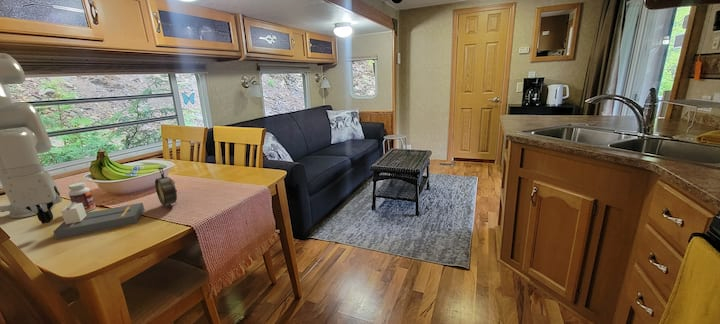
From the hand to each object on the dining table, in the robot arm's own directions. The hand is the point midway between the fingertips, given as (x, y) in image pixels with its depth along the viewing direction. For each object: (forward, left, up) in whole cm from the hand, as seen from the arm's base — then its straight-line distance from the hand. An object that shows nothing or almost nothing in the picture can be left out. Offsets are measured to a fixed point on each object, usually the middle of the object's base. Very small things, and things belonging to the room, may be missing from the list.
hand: (47, 221), depth 99 cm
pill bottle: (+3, +18, -5) cm, 19 cm away
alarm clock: (+34, +5, -5) cm, 35 cm away
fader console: (+14, 0, -5) cm, 15 cm away
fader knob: (+7, 0, -1) cm, 7 cm away
